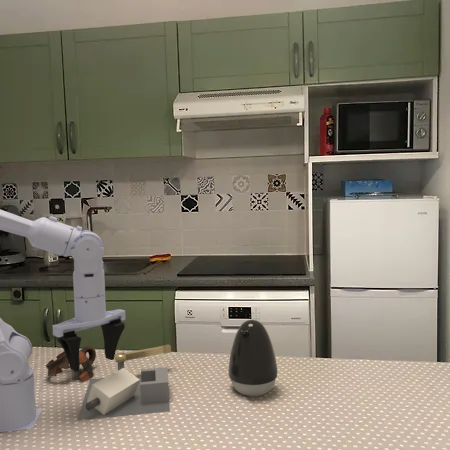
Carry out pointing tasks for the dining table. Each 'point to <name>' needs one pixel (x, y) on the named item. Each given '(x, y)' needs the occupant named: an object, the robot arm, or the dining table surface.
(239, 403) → the dining table surface
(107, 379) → the plug
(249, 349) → the pump dispenser
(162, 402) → the socket
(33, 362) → the dining table surface
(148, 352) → the brass ball-knob lever
